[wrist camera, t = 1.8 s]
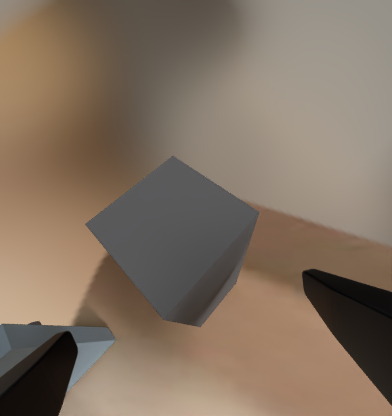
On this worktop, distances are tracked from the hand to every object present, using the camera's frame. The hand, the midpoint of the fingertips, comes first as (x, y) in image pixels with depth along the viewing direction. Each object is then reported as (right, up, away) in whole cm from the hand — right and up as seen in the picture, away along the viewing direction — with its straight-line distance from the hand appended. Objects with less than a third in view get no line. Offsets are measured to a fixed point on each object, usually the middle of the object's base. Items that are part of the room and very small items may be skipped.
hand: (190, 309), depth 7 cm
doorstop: (0, -3, +10) cm, 10 cm away
